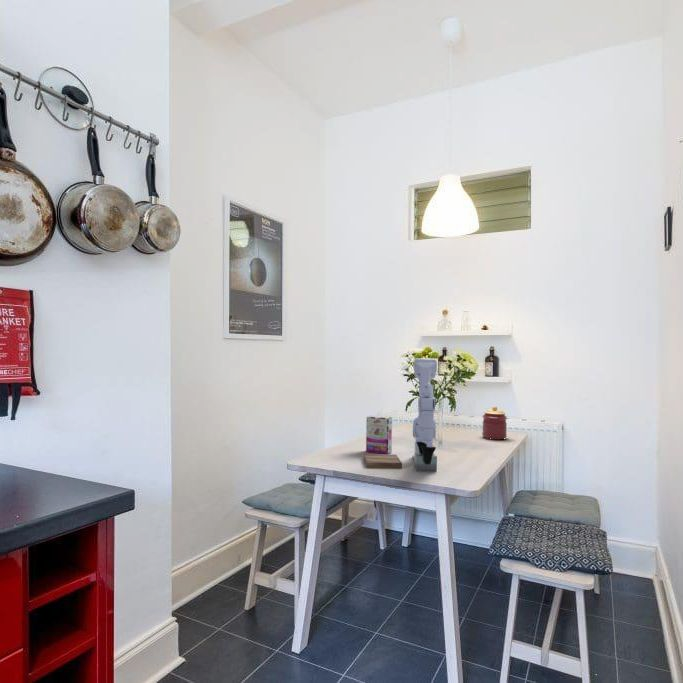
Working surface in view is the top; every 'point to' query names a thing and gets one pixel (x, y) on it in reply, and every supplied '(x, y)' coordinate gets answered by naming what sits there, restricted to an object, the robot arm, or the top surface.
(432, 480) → the top surface
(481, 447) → the top surface
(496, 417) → the canister
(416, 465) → the housing
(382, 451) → the candy bar box
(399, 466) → the stand
